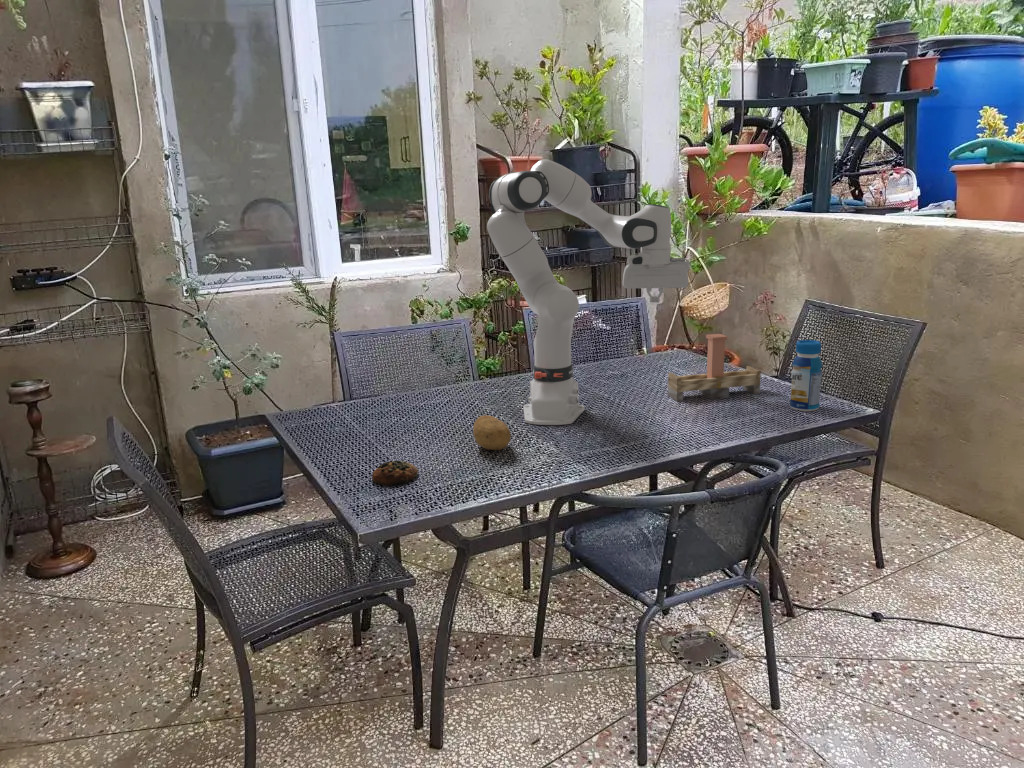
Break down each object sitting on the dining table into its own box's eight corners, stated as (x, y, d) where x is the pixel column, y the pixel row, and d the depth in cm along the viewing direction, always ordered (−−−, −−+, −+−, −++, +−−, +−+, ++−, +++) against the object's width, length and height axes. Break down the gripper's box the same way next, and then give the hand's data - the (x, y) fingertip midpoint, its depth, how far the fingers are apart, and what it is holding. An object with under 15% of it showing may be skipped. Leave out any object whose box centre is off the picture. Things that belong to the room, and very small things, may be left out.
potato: (484, 460, 188) (483, 430, 186) (466, 443, 201) (465, 415, 199) (520, 453, 192) (519, 424, 190) (500, 437, 205) (499, 410, 202)
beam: (677, 402, 230) (678, 379, 228) (666, 394, 239) (667, 372, 237) (761, 394, 235) (762, 371, 233) (747, 387, 244) (748, 365, 242)
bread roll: (384, 490, 172) (382, 469, 171) (365, 482, 181) (362, 462, 181) (426, 480, 178) (424, 459, 178) (405, 472, 187) (403, 453, 187)
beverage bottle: (822, 412, 216) (827, 345, 210) (792, 412, 217) (796, 345, 212) (815, 403, 224) (820, 338, 218) (786, 403, 225) (790, 338, 220)
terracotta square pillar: (711, 381, 233) (712, 337, 229) (704, 377, 238) (706, 334, 234) (725, 380, 234) (727, 336, 230) (718, 376, 238) (720, 333, 235)
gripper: (688, 256, 232) (686, 300, 236) (622, 257, 234) (621, 301, 238) (691, 258, 226) (689, 303, 230) (623, 259, 228) (622, 304, 232)
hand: (654, 302), depth 234 cm, fingers closed
